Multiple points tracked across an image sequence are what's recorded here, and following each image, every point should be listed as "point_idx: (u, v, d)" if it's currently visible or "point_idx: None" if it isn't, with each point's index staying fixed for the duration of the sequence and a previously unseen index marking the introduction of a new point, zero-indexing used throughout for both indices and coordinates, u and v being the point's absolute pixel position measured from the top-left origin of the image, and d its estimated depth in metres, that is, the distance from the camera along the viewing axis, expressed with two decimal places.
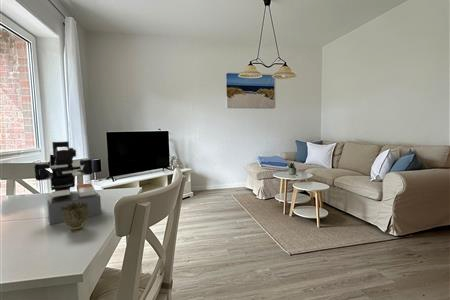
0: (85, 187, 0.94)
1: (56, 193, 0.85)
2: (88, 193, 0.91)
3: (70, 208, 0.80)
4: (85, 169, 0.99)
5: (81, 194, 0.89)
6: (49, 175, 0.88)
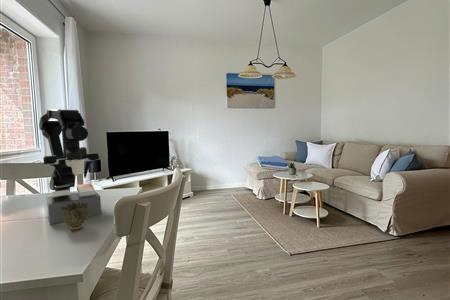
0: (85, 187, 0.94)
1: (56, 193, 0.85)
2: (88, 193, 0.91)
3: (70, 208, 0.80)
4: None
5: (81, 194, 0.89)
6: (59, 175, 0.98)
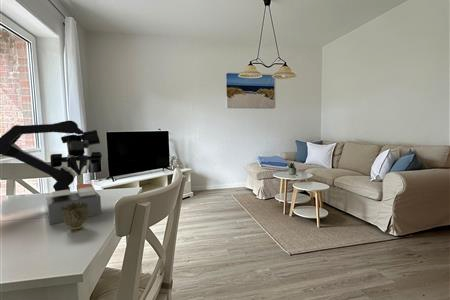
0: (85, 187, 0.94)
1: (56, 193, 0.85)
2: (88, 193, 0.91)
3: (70, 208, 0.80)
4: (83, 162, 1.07)
5: (81, 194, 0.89)
6: (76, 171, 1.03)
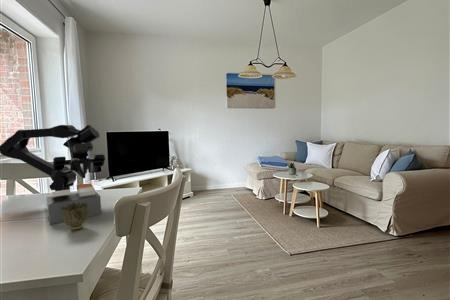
0: (85, 187, 0.94)
1: (56, 193, 0.85)
2: (88, 193, 0.91)
3: (70, 208, 0.80)
4: (86, 165, 1.05)
5: (81, 194, 0.89)
6: (80, 175, 1.01)
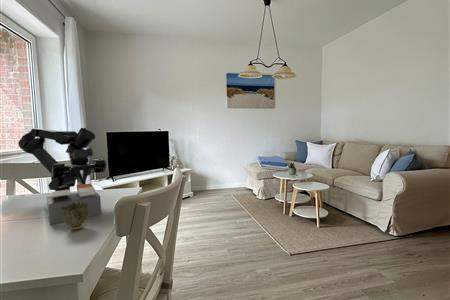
0: (85, 187, 0.94)
1: (56, 193, 0.85)
2: (88, 193, 0.91)
3: (70, 208, 0.80)
4: None
5: (81, 194, 0.89)
6: (80, 182, 0.98)
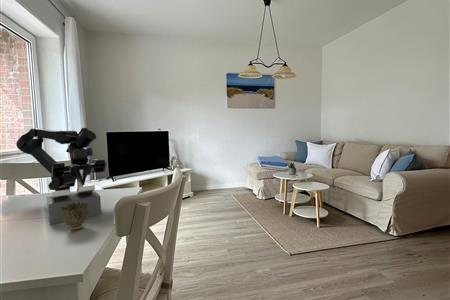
0: None
1: (56, 193, 0.85)
2: (87, 188, 0.91)
3: (70, 208, 0.80)
4: (87, 171, 1.02)
5: (80, 189, 0.90)
6: (79, 181, 0.98)
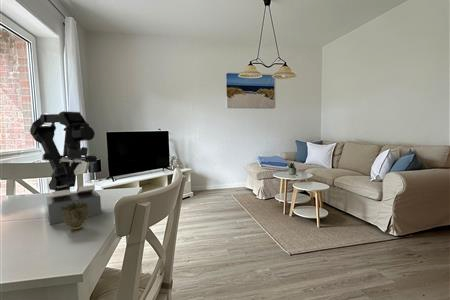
0: None
1: (56, 193, 0.85)
2: (87, 188, 0.91)
3: (70, 208, 0.80)
4: None
5: (80, 189, 0.90)
6: (66, 174, 1.01)
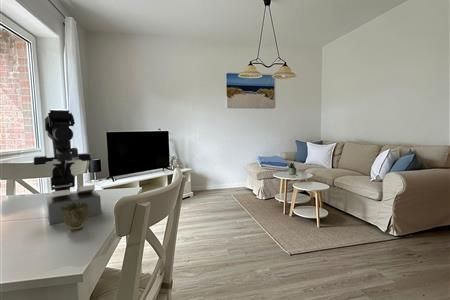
0: None
1: (56, 193, 0.85)
2: (87, 188, 0.91)
3: (70, 208, 0.80)
4: None
5: (80, 189, 0.90)
6: (61, 175, 0.99)
